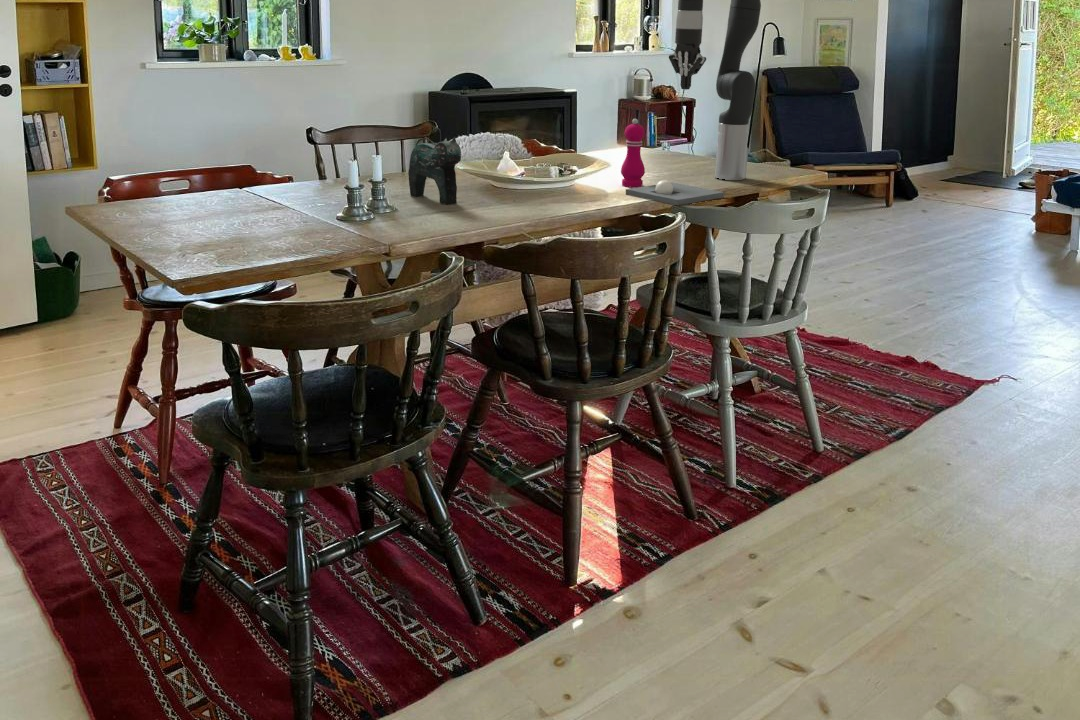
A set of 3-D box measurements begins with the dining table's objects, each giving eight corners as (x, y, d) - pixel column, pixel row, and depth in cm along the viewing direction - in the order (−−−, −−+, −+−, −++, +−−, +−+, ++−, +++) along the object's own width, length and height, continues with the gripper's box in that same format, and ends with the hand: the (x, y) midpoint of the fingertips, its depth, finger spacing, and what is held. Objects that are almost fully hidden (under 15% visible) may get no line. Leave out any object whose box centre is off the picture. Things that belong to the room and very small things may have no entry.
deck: (672, 187, 320) (672, 182, 320) (723, 197, 306) (724, 192, 306) (625, 194, 308) (625, 189, 307) (677, 205, 294) (677, 199, 293)
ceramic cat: (463, 204, 290) (463, 130, 283) (444, 207, 286) (443, 131, 279) (421, 193, 304) (420, 122, 297) (402, 195, 300) (400, 124, 293)
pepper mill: (642, 188, 318) (646, 120, 311) (618, 187, 319) (621, 119, 312) (645, 184, 324) (648, 117, 318) (621, 183, 326) (624, 116, 319)
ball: (650, 184, 303) (653, 199, 305) (663, 187, 299) (666, 202, 302) (661, 175, 305) (665, 190, 308) (674, 178, 301) (678, 193, 304)
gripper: (715, 27, 302) (711, 90, 307) (680, 26, 311) (677, 86, 317) (698, 28, 297) (694, 91, 303) (663, 26, 306) (659, 88, 312)
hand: (685, 89), depth 310 cm, fingers closed
